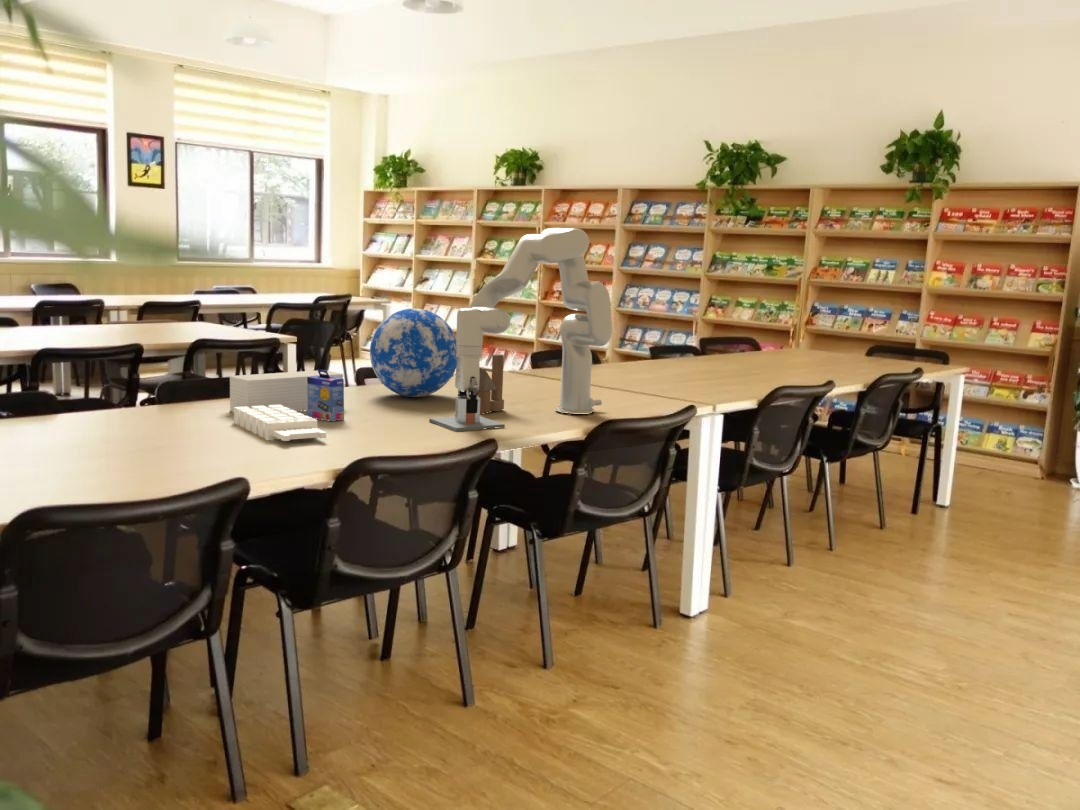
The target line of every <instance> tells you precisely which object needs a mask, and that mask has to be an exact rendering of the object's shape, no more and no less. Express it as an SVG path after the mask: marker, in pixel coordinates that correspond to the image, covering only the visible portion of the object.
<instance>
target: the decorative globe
mask: <svg viewBox="0 0 1080 810" xmlns="http://www.w3.org/2000/svg"><path fill="white" fill-rule="evenodd" d="M369 358H370V359H369V361H370V364H371V367H372V370H373V372H374V374H375V375H376V377H377V379H378V380H379V382H380V383H381V384H383V386H384V387H386V388H387V389H388V390H390V391H391V392H393V393H395V394H396V395H397V394H398V395H400V396H403V397H407V398H421V397H426V396H429V395H432V394H434V393H436V392H438V391H439V390H441V389H442V388H443V387H444V386H446V384H447V383H448V382H449V381H450V380H451V379H452V377H453V375H454V373H456V366H457V358H458V357H457V356H456V334H455V333H454V331H453V329H452V328H451V326H450V325H449V324H448V323H447V321H445V320H444V319H443V318H442V317H441V316H439V315H438V314H436V313H434V312H432V311H430V310H427V309H424V308H414V307H413V308H405V309H402V310H398V311H396V312H393V313H392V314H390V315H389V316H387V317H386V318H385V319H383V320H382V322H380V324H379V325H378V326H377V327H376V330H375V332H374V333H373V336H372V338H371V342H370V345H369Z"/></svg>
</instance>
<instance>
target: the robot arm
mask: <svg viewBox="0 0 1080 810" xmlns="http://www.w3.org/2000/svg"><path fill="white" fill-rule="evenodd" d="M589 246H590V238H589V236H588V234H587V233H586V232H585V231H584V230H583V229H582V228H577V227H548V228H545V229H544V230H542V231H541V232H540V233H530V234H529V233H527V234H525V235H523V236H522V237H521V238H520V239H519V241H518V242H517V244H516V245H515V247H514V249H513V250H512V253H511V255H510V256H509V258H508V259H507V261H506V263H505V264H504V266H503V268H502V270H501V271H500V273H499V274H497V275H496V276H495V277H493V278H492V279H491V280H490V281H488V282H487V283H486V284H485V285H484V286H482V287H481V289H479V291H478V292H477V293H476V295H475V296H474V298H473V300H472V302H471V303H470V304H469V307H462V308H459V309H458V310H457V313H456V335H455V337H456V356H457V357H458V358H457V366H456V369H455V382H454V387H455V388H456V389H457V397H458V396H467V397H468V399H466V413H477V407H478V392H477V391H478V390H479V369H480V358H482V357H483V340H484V339H483V337H484V333H485V334H491V335H500V334H502V333H505V332H506V331H507V330H508V328H509V327H510V324H511V318H510V315H509V314H508V312H507V311H505V310H504V309H503V308H498V307H495V306H496V305H497V304H498V303H499V302H501V301H502V300H503V299H505V298H508V297H509V296H512V295H515V294H516V293H519V292H521V291H522V290H524V289H525V288H526V287H527V286H528V284H529V282H530V280H531V278H532V277H533V274H534V273H535V271H536V270H537V268H538V267H539V265H540V264H557V267H558V269H559V276H560V279H559V280H560V287H561V288H560V289H561V297H562V298H561V299H562V303H563V306H564V307H566V309H569V310H572V311H580V312H586V313H571V314H568V315H567V316H565V317H564V318H563V320H562V321H561V324H560V338H561V346H562V347H561V348H562V354H561V355H562V358H561V359H562V360H561V361H562V362H561V381H560V399H559V400H560V403H559V405H558V406H555V409H556V410H558V411H561V412H568V413H591V412H594V413H595V409H594V406H601V405H602V404H603V403H602V399H593V398H592V397H591V387H592V368H593V356H592V351H591V348H590V346H591V347H604V346H606V345H607V344H608V343H609V342H610V340H611V338H612V334H613V320H612V309H611V306H612V305H611V297H610V292H609V290H608V288H607V287H606V285H605V284H603V282H600V281H595V280H594V281H593V280H589V277H588V269H587V263H586V261H585V257H584V254H586V252H587V251H588V250H589ZM555 409H554V410H555Z"/></svg>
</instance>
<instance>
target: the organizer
mask: <svg viewBox="0 0 1080 810" xmlns="http://www.w3.org/2000/svg"><path fill="white" fill-rule="evenodd" d="M233 424H235V425H237V426H239V427H241V428H243V429H245V430H247V431H248V430H249V431H248V432H251V433H252V432H253V433H252V434H254V433H255V434H254V435H256V434H258V435H259V437H260V436H261V438H262V437H265V438H264V440H266V439H267V440H266V441H268V440H271V441H275V440H274V439H281V440H280V441H283V442H289V441H291V440H299V439H300V440H301V439H312V438H314V439H315V438H319V439H327V431H324V430H322V429H320V428H318V419H313V418H311V417H309V416H308V415H305V414H304V413H302V412H297V411H294V410H291V409H289V408H287V407H284V406H282V405H268V407H266V406H251V408H249V407H247V406H245V407H234V412H233Z"/></svg>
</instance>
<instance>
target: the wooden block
mask: <svg viewBox="0 0 1080 810" xmlns="http://www.w3.org/2000/svg"><path fill="white" fill-rule="evenodd" d="M504 358H505V355H504V354H501V353H500V354H499V353H494V354H492V356H491V360H492V361H491V375H489V373H488V371H487V370H486V369H485V368H479V390H478V391H477V392H478V397H479V398H480V413H487V412H490V411H497V410H502V409H505V399H504V398H503V387H504V386H503V385H504V384H503V383H504V363H505V362H504ZM490 376H491V377H490ZM497 412H498V411H497ZM490 413H491V412H490Z"/></svg>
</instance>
